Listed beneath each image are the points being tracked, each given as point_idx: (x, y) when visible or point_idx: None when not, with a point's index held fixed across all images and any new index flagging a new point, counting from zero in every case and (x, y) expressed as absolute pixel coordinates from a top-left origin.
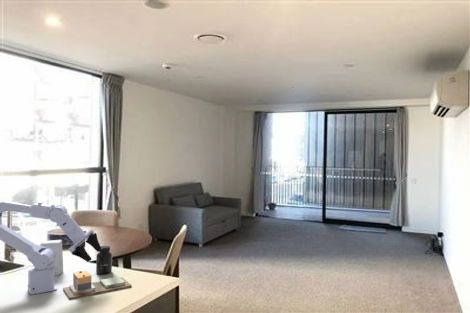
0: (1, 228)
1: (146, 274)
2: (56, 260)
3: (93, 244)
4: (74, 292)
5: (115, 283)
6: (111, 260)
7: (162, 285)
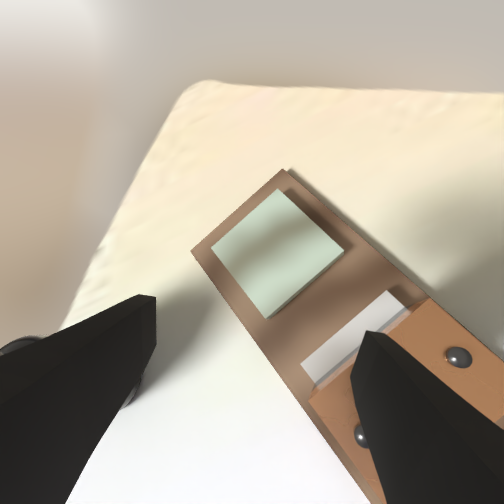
0: None
1: (145, 187)
2: None
3: (72, 438)
4: None
5: (305, 218)
6: None
7: (253, 88)
